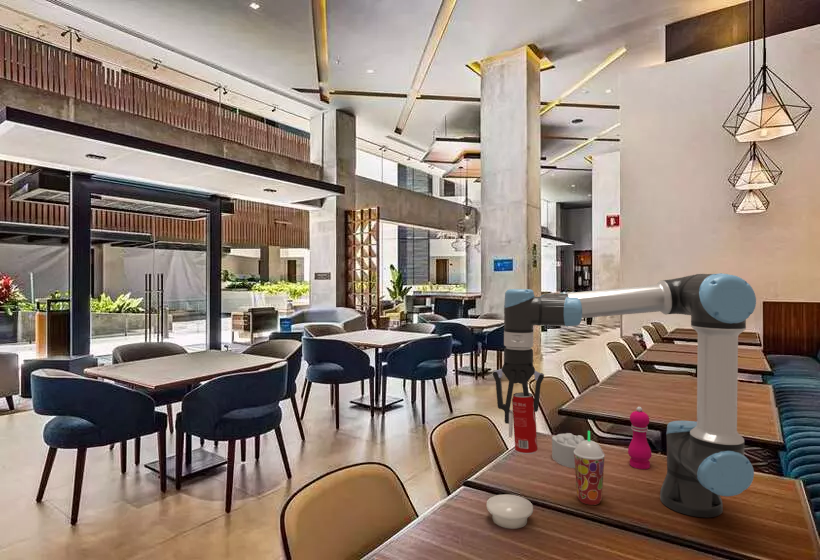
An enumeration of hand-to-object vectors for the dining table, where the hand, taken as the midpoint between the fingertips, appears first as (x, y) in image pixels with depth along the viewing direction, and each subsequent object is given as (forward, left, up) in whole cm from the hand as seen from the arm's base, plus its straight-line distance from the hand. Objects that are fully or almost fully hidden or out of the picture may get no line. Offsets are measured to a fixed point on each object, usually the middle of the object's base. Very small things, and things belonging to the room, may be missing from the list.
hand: (517, 436), depth 127 cm
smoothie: (-19, -17, -23) cm, 34 cm away
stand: (+2, 0, -22) cm, 23 cm away
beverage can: (-2, 0, -4) cm, 4 cm away
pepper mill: (-37, -48, -23) cm, 65 cm away
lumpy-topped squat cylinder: (-15, -46, -23) cm, 53 cm away
